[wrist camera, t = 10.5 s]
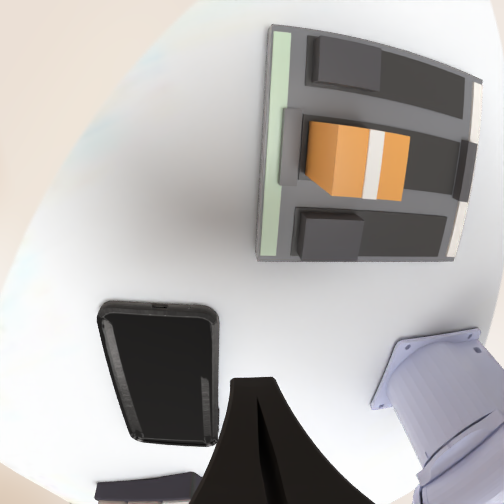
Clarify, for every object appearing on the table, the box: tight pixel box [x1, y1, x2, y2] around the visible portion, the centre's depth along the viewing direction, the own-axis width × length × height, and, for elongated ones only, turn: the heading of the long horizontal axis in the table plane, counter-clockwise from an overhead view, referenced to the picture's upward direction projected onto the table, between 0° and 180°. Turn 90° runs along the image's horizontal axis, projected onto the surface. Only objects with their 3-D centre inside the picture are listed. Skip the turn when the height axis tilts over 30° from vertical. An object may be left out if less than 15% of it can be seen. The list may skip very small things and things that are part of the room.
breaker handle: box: [305, 121, 410, 201], centre depth 13 cm, size 3×3×4 cm
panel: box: [256, 24, 483, 262], centre depth 15 cm, size 13×12×2 cm
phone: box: [97, 301, 219, 447], centre depth 22 cm, size 8×1×15 cm
